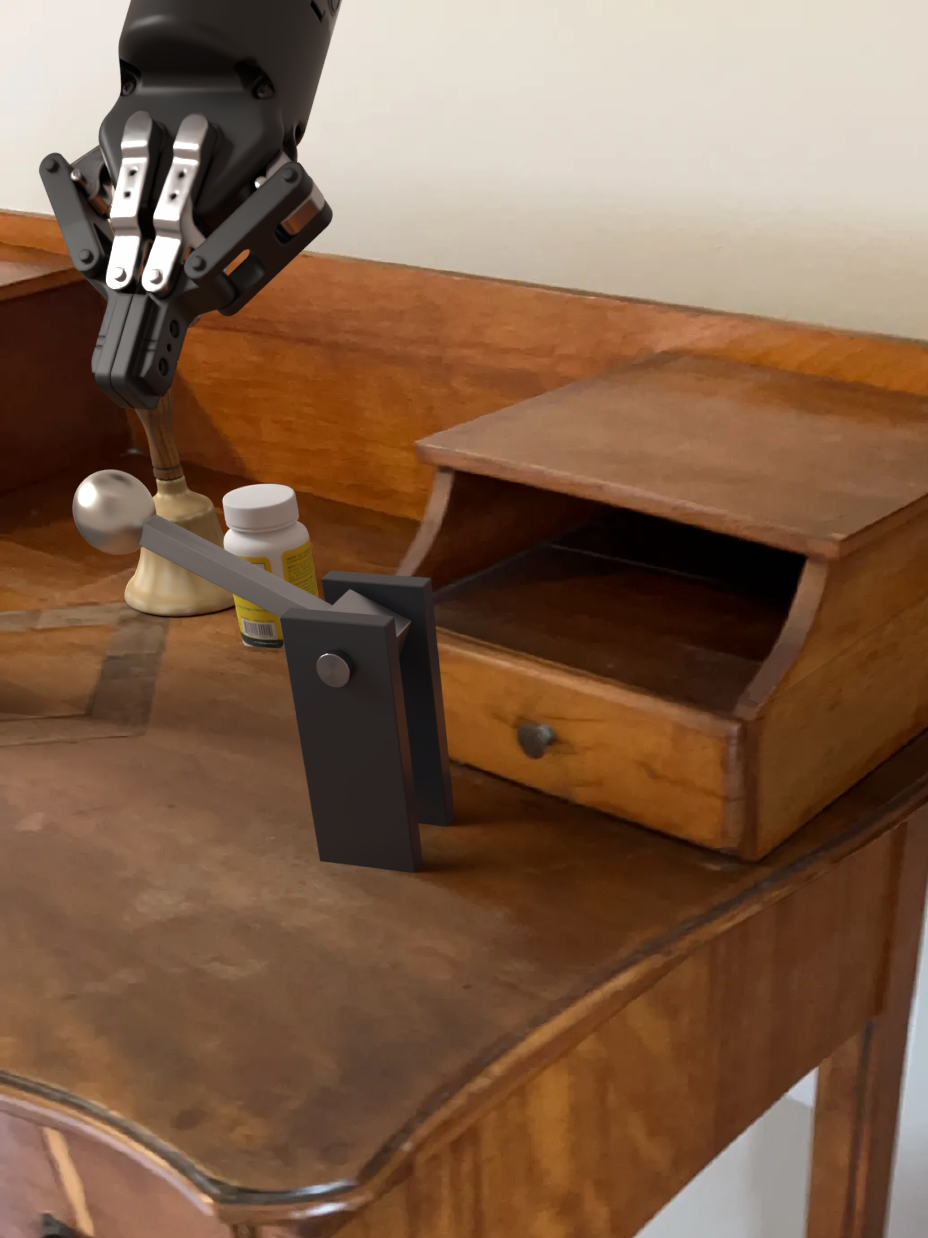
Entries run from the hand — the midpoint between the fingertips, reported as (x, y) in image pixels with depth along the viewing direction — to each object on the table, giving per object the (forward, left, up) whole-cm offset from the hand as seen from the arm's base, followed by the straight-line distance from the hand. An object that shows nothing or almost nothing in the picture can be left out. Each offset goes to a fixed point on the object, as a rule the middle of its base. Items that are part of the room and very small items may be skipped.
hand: (124, 398), depth 60 cm
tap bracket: (+10, -2, -19) cm, 22 cm away
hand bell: (-15, +27, -19) cm, 37 cm away
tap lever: (+4, -2, -7) cm, 9 cm away
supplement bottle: (-6, +21, -19) cm, 29 cm away
